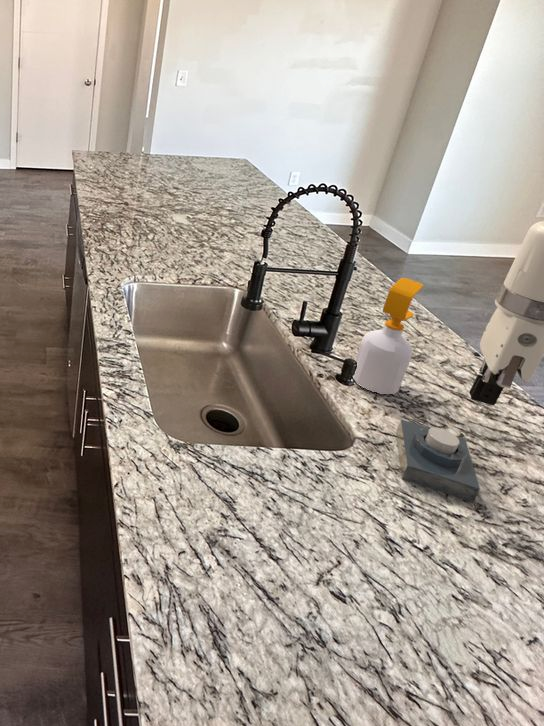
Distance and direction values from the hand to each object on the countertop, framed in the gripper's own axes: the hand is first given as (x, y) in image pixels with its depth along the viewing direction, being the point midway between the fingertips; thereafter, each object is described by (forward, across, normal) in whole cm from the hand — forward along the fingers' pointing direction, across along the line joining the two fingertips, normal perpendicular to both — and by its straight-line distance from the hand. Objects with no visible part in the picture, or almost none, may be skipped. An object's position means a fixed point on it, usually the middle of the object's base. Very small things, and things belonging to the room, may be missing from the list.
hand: (481, 399), depth 88 cm
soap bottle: (+16, +22, +10) cm, 29 cm away
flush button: (+11, 0, +2) cm, 11 cm away
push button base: (+16, 0, +2) cm, 16 cm away
